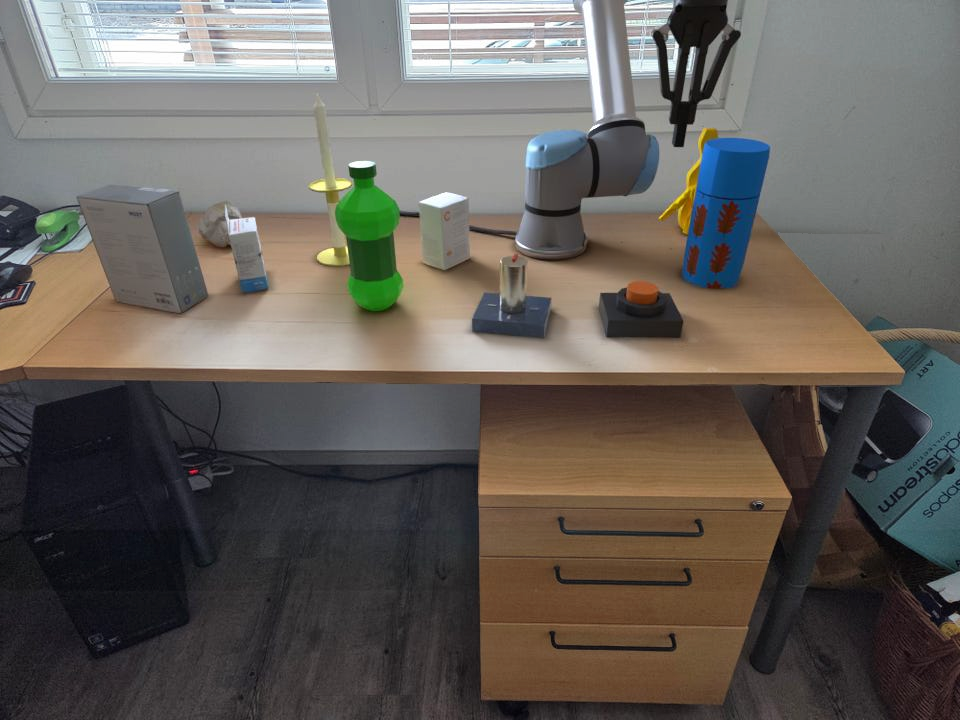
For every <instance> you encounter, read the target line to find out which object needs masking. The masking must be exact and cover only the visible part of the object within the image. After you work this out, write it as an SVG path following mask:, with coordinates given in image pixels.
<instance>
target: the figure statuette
mask: <svg viewBox="0 0 960 720" xmlns="http://www.w3.org/2000/svg"><path fill="white" fill-rule="evenodd" d="M718 132H719V131H718V129H717V128H715V127H703V129H702V130H701V133H700V135H699V138H698V140H697V147H698V152H699V159H698V160H697V161H696V162H695V164H694V165H693V166H692V167H691V168H690V169H689V170H688V172H687V174H686V178H685V186H686V189H685V190H684V191H683V192H682V194H681V195H679V196H678V197H677V198H676V199H675V200H674V201H673V202H672V204H670V206H669V207H668V208H667V209H665V210H664V212H663V213H662V214H661V215H660V216H659V217H658V220H660V221H661V222H664V221H665V220H666V219H668V218H669V217H671V216H672V215H673V214H674V213H676V212H677V222H678V225H679V227H680V229H682V233H683V234H684V235H687V236H688V231H689V225H690V220H691V214H692V209H693V203H694V198H695V192H696V187H697V181H698V176H699V170H700V165H701V159H702V154H703V150H704V147H705V143H706V142H707V141H708V140H711V139H716V138H719V134H718Z"/></svg>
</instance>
